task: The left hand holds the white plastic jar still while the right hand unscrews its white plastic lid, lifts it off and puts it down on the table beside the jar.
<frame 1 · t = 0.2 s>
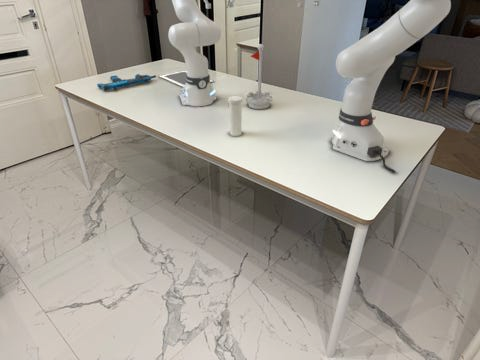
left hand: (219, 7, 131), 48 cm above the table, tool pointing down, fingers open, 8 cm apart
right hand: (308, 6, 134), 48 cm above the table, tool pointing down, fingers open, 8 cm apart
tablet: (185, 79, 214), on the table
lid: (235, 99, 139), point 16 cm above the table, screwed on, not yet turned
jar: (235, 133, 148), on the table
submachine gun: (126, 83, 208), on the table
flag stand: (258, 105, 176), on the table
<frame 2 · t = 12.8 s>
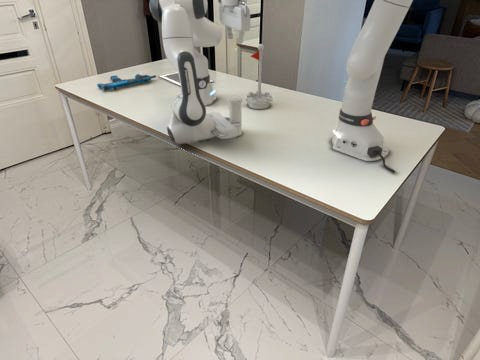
left hand: (237, 121, 145), 5 cm above the table, tool horizontal, fingers closed on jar, 5 cm apart
right hand: (234, 40, 127), 38 cm above the table, tool pointing down, fingers open, 8 cm apart
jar: (235, 133, 148), on the table, touching left hand
everything else where it was.
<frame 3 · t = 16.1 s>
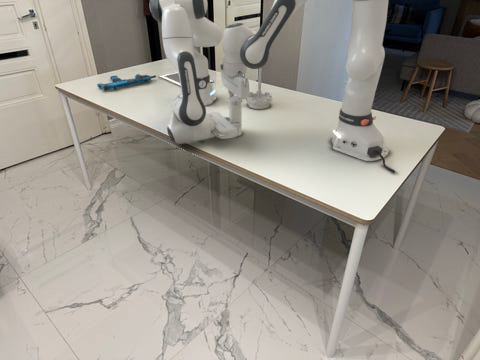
left hand: (237, 121, 145), 5 cm above the table, tool horizontal, fingers closed on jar, 5 cm apart
right hand: (235, 102, 140), 14 cm above the table, tool pointing down, fingers closed on lid, 5 cm apart
lid: (235, 99, 139), point 16 cm above the table, screwed on, not yet turned, touching right hand
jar: (235, 133, 148), on the table, touching left hand
everything else where it was.
when the right hand's fingers open (2 cm above the table, at t = 39.8 s): lid drops 2 cm, point 1 cm above the table.
when the left hand's fingers open (5 cm above the table, at t = 40.8 s): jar stays where it is, on the table.
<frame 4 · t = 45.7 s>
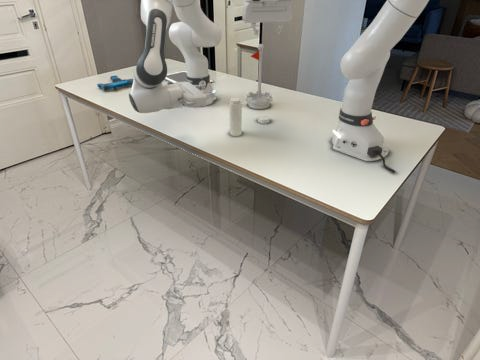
left hand: (209, 90, 132), 21 cm above the table, tool horizontal, fingers open, 8 cm apart
right hand: (267, 34, 138), 38 cm above the table, tool pointing down, fingers open, 8 cm apart
lid: (263, 118, 158), point 1 cm above the table, off its thread
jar: (235, 133, 148), on the table
everything else where it was.
at the end: lid came off its thread; lid point 1.3 cm above the table; the left hand is holding nothing; the right hand is holding nothing; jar tilted 0°; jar moved 0.0 cm from its start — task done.
